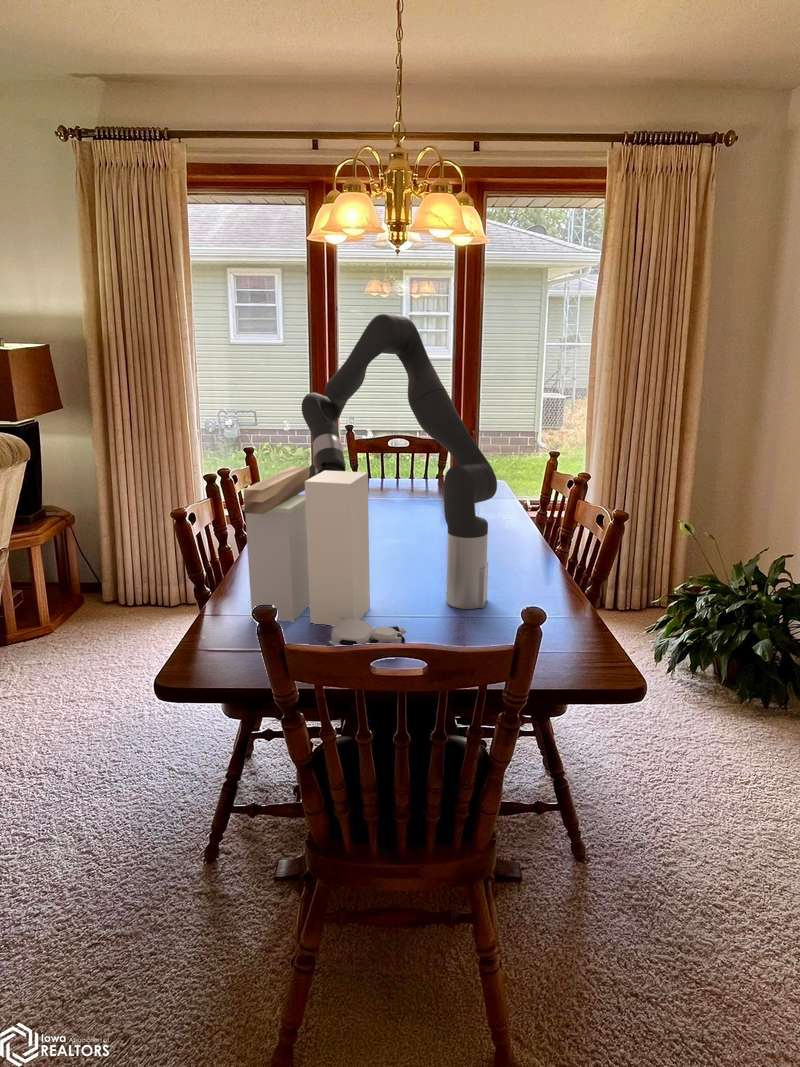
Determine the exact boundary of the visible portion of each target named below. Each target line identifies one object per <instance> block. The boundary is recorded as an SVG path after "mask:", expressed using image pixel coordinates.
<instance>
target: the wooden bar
mask: <svg viewBox="0 0 800 1067" xmlns="http://www.w3.org/2000/svg"><path fill="white" fill-rule="evenodd" d="M309 467H310V466H303V465H300V466H299V465H291V466H289V467H288V468H286V469H283V470H281V471H279V472H277V473H275V474H273V475H271V476H269V477H266V478H265V479H262V480H260V481H258V482H256V483H253V484H252V485H250V486H248V487H246V488H243V490H242V491H243V505H244V506H245V511H244V514H245V513H251V514H264V513H266V512H268V511H269V510H271V509H273V508H275V507H276V506H278V505H280V504H282V503H283V502H285V501H287V500H289V499H290V498H292V497H294V496H296V495H297V494H299V495H300V494H301V493H302V492H305V481H306V480H308V479H309Z"/></svg>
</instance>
